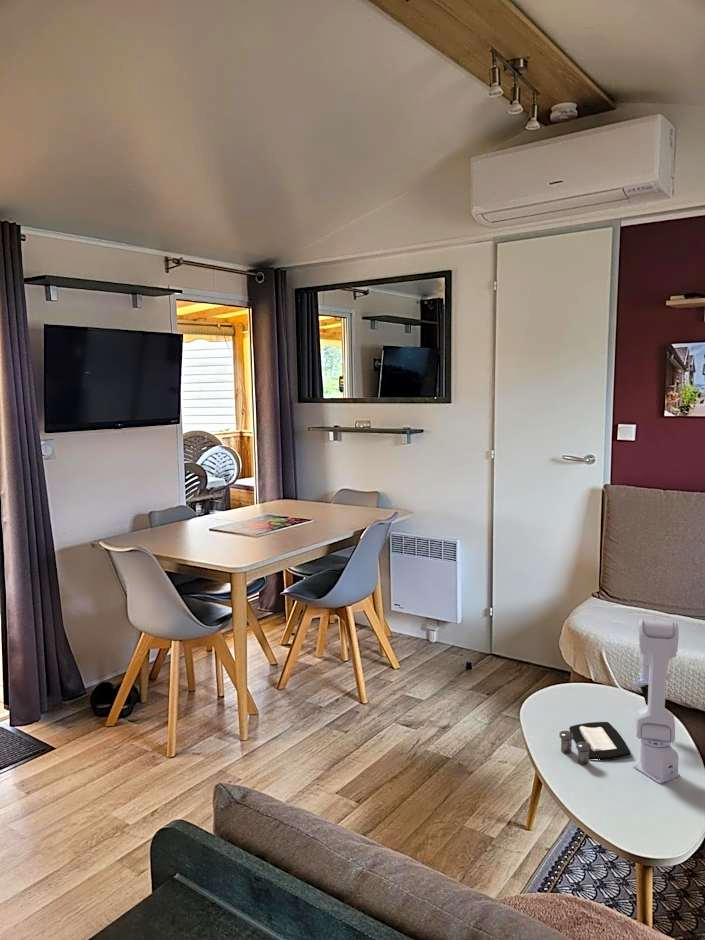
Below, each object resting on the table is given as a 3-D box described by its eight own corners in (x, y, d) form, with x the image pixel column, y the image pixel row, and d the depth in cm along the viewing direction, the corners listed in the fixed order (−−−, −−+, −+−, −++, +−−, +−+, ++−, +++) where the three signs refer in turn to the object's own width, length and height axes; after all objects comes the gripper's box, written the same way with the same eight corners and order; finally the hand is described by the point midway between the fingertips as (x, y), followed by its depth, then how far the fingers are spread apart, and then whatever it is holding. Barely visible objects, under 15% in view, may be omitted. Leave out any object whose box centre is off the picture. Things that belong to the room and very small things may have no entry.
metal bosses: (593, 764, 204) (593, 746, 203) (583, 767, 202) (583, 750, 202) (566, 746, 214) (566, 729, 213) (556, 749, 212) (556, 732, 211)
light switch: (565, 722, 225) (609, 716, 225) (566, 730, 225) (609, 725, 225) (586, 756, 205) (634, 750, 205) (587, 765, 206) (635, 759, 205)
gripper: (657, 654, 224) (656, 694, 226) (623, 664, 218) (622, 705, 220) (676, 662, 218) (674, 703, 220) (641, 672, 212) (640, 715, 214)
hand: (649, 705), depth 220 cm, fingers closed
